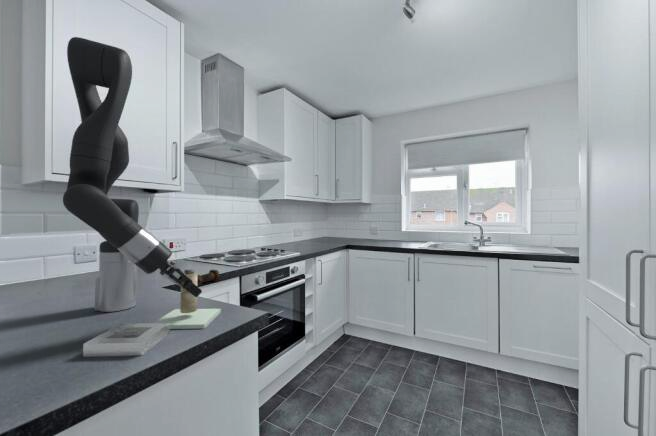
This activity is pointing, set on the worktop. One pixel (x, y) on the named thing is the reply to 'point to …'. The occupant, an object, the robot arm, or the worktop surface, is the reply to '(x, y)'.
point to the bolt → (208, 277)
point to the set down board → (189, 319)
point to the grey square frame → (126, 340)
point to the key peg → (188, 294)
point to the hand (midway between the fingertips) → (196, 292)
